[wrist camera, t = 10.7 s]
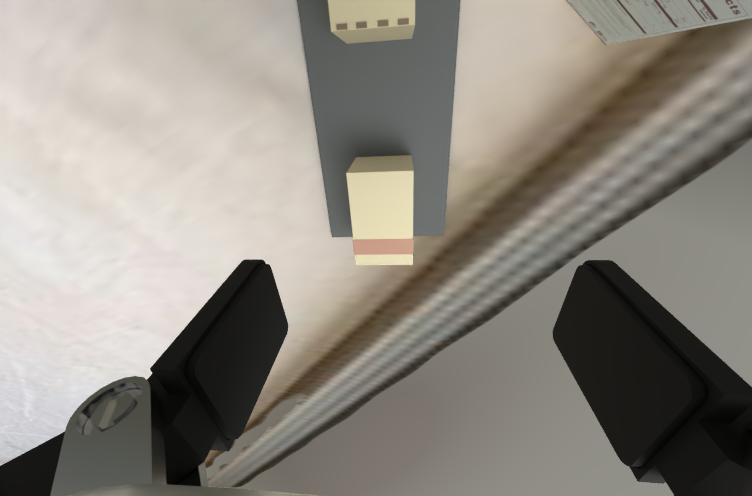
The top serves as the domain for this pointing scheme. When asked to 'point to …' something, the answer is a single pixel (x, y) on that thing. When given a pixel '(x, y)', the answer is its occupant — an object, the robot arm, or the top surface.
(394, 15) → the block
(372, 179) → the stub
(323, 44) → the mat
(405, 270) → the top surface
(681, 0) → the supplement box
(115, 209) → the top surface
